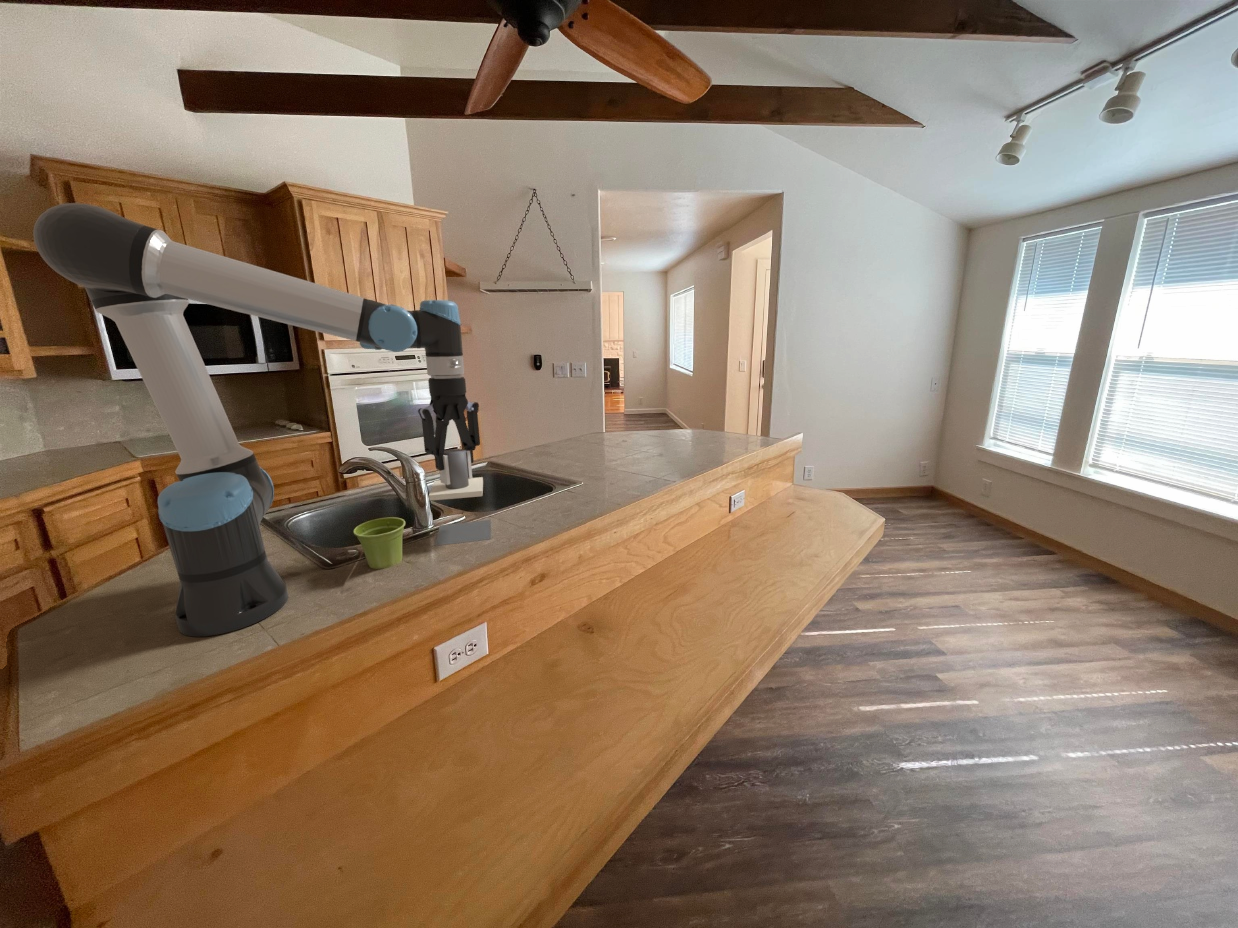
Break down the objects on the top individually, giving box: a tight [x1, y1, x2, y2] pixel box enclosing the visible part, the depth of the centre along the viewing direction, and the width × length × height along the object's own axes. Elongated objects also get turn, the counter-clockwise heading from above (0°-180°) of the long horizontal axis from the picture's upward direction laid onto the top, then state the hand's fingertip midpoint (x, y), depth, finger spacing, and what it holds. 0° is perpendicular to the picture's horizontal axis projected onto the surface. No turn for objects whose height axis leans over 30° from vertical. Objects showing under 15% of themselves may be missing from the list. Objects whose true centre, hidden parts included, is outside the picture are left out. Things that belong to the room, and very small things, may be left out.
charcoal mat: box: [434, 519, 492, 547], centre depth 113 cm, size 12×12×1 cm
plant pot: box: [353, 516, 406, 570], centre depth 98 cm, size 9×9×9 cm
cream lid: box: [428, 448, 484, 501], centre depth 108 cm, size 11×11×9 cm
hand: (456, 480), depth 109 cm, fingers closed on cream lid, 5 cm apart
